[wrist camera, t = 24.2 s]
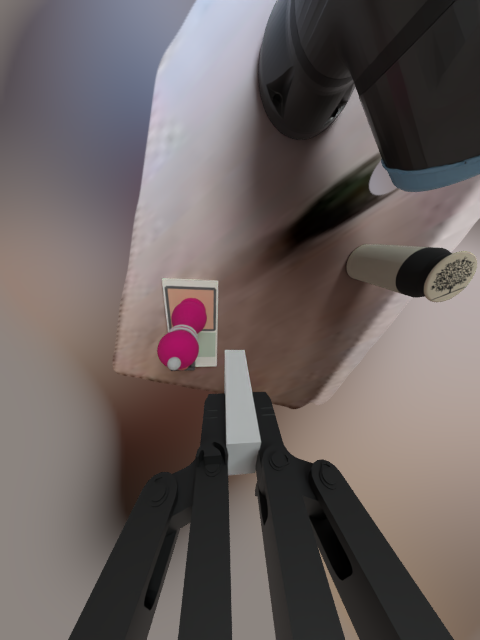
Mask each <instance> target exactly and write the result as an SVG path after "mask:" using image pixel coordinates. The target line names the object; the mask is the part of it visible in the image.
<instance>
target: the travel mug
mask: <svg viewBox="0 0 480 640" xmlns="http://www.w3.org/2000/svg"><path fill="white" fill-rule="evenodd" d="M476 268H477V260H476V257H475V256H474V255H473V254H472V253H470V252H467V251H461V252H456V253H453V254H452V253H451V252H449V251H448V250H446V249H444V248H431V247H413V246H395V245H377V244H365V245H362V246H360V247H358V248H357V249H355V250H354V251H353V252H352V254H351V255H350V257H349V259H348V261H347V273H348V275H349V276H350V277H352V278H354V279H357V280H360V281H363V282H366V283H370V284H373V285H376V286H379V287H382V288H385V289H389V290H392V291H395V292H398V293H401V294H404V295H408V296H411V297H424V296H425V297H426V298H427V299H428V300H430V301H432V302H442V301H446V300H449V299H451V298H453V297H454V296H456V295H457V294H459V293H460V292H461V291H462V290H463V289H464V288H465V287H466V286H467V285H468V284H469V282H470V281H471V279H472V278H473V276H474V274H475V272H476Z"/></svg>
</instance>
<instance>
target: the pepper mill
mask: <svg viewBox="0 0 480 640" xmlns="http://www.w3.org/2000/svg"><path fill="white" fill-rule="evenodd" d="M206 321H207V315H206V309H205V306H204V304H203V303H202V302H201V301H200V300H198V299H196V298H187V299H184V300H183V301H182V302H181V303H180V304H178V305H177V306H176V307H175V308H174V310H173V312H172V316H171V322H172V325H173V328H171V329H170V330H169V332H168V334H166V335H165V336H164V337H163V338H162V339H161V340H160V342H159V345H158V350H157V352H158V357H159V359H160V361H161V362H162V363H163V364H164V365H165V366H167V367H168V368H169V369H170V370H177V369H183V368H186V367H188V366H190V365H191V364H192V363H193V362H194V361H195V360H196V358H197V356H198V353H199V345H198V342H197V341H198V335H197V334H198V333H199V332H201V331H202V329H203V328H204V327H205V325H206Z"/></svg>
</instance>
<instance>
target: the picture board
mask: <svg viewBox="0 0 480 640" xmlns="http://www.w3.org/2000/svg"><path fill="white" fill-rule="evenodd" d="M162 285H163V294H164V302H165V310H166V319H167V327H168V332H169V330H170V329H171V328H173V325H172V322H171V316H172V312H173V310H174V308H175V307H176V306H177V305H178V304H180V303H181V302H182V301H183V300H184V299H187V298H196V299H198V300H200V301H201V302H202V303H203V304H204V306H205V309H206V315H207V321H206V325H205V327H204V328H203V329H202V331H201V332H199V333H198V334H197V335H198V341H197V342H198V345H199V353H198V356H197V358H196V360H195V361H194V362H193V363H192V364H191V365H190V366H188V368H187V369H185V370H195V367H207V366H217V321H218V281H216V280H194V279H172V278H163V279H162ZM171 371H183V370H178V369H177V370H171Z"/></svg>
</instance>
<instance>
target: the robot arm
mask: <svg viewBox="0 0 480 640" xmlns="http://www.w3.org/2000/svg"><path fill="white" fill-rule="evenodd" d="M258 76H259V88H260V94H261V99H262V102H263V105H264V108H265V111H266V113H267V115H268V117H269V119H270V120H271V122H272V123H273V125H274V126H275V127H276V128H277V129H278V130H279V131H280V132H281V133H283V134H284V135H286V136H288V137H290V138H293V139H308V138H311V137H314V136H316V135H318V134H319V133H321V132H322V131H323V130H325V129H326V128H327V127H328V126H329V125H330V124H331V123H332V122H333V121H334V120H335V119H336V118H337V116H338V115H339V114H340V113H341V111H342V110H343V108H344V107H345V105H346V104H347V102H348V100H349V98H350V96H351V94H352V92H353V90H354V88H355V87H356V89H357V92H358V95H359V99H360V101H361V104H362V107H363V109H364V112H365V115H366V117H367V120H368V123H369V125H370V128H371V130H372V133H373V136H374V138H375V141H376V144H377V146H378V149H379V152H380V154H381V157H382V159H381V163H382V166H383V167H384V168H385V169H386V170H387V171H388V173H389V176H390V178H391V180H392V182H393V184H394V185H395V186H396V187H397V188H400V189H401V190H404V191H407V192H421V191H428V190H433V189H437V188H441V187H445V186H449V185H452V184H455V183H458V182H461V181H464V180H466V179H469V178H471V177H474V176H476V175H479V174H480V0H277V1H276V3H275V5H274V7H273V10H272V12H271V14H270V17H269V20H268V22H267V26H266V29H265V33H264V37H263V42H262V46H261V51H260V57H259V69H258ZM255 470H256V473H257V484H256V489H255V496H258V503H259V511H260V519H261V526H262V532H263V541H264V550H265V557H266V565H267V573H268V581H269V588H270V596H271V603H272V612H273V620H274V627H275V634H276V640H345V637H344V634H343V631H342V627H341V624H340V621H339V617H338V614H337V610H336V607H335V604H334V600H333V597H332V594H331V590H330V587H329V583H328V580H327V577H326V573H325V570H324V567H323V563H322V560H321V557H320V553H321V555H322V557H323V559H324V562H325V564H326V566H327V568H328V570H329V573H330V575H331V577H332V579H333V582H334V584H335V586H336V588H337V590H338V593H339V595H340V597H341V599H342V602H343V604H344V606H345V608H346V610H347V613H348V615H349V617H350V619H351V621H352V624H353V626H354V628H355V630H356V633H357V635H358V637H359V639H360V640H454V639H453V637H452V636H451V635H450V633H449V632H448V630H447V629H446V627H445V626H444V624H443V623H442V622H441V620H440V618H439V617H438V615H437V614H436V612H435V611H434V610H433V608H432V607H431V605H430V604H429V602H428V601H427V599H426V598H425V596H424V595H423V594H422V592H421V591H420V589H419V587H418V586H417V584H416V583H415V582H414V580H413V579H412V577H411V576H410V574H409V573H408V571H407V570H406V568H405V567H404V565H403V564H402V562H401V561H400V560H399V558H398V557H397V555H396V554H395V552H394V551H393V549H392V548H391V546H390V545H389V543H388V542H387V541H386V539H385V537H384V536H383V534H382V533H381V532H380V530H379V529H378V527H377V526H376V524H375V523H374V521H373V520H372V518H371V517H370V515H369V514H368V512H367V511H366V509H365V508H364V507H363V505H362V503H361V502H360V501H359V499H358V498H357V496H356V495H355V493H354V492H353V490H352V489H351V487H350V486H349V484H348V483H347V481H346V480H345V478H344V477H343V476H342V474H341V473H340V471H339V470H338V469H337V468H336V467H335V466H334V465H333V464H331V463H330V462H329V461H326V460H317V461H316V462H314V463H310V462H307V461H304V460H301V459H298V458H296V457H294V456H293V455H291V454H290V453H289V452H288V451H287V449H286V448H285V446H284V444H283V441H282V438H281V434H280V431H279V427H278V424H277V420H276V416H275V413H274V410H273V406H272V402H271V399H270V397H269V396H268V395H267V393H266V392H252V389H251V383H250V378H249V372H248V367H247V361H246V356H245V350H225V368H224V394H209V395H208V397H207V399H206V401H205V405H204V416H203V424H202V434H201V444H200V447H199V449H198V451H197V454H196V459H195V460H194V461H193V462H192V463H191V464H190V465H189V466H187V467H186V468H184V469H182V470H180V471H178V472H175V473H173V474H171V473H169V472H161V473H159V474H156V475H154V476H153V477H152V478H151V479H150V480H149V481H148V482H147V484H146V485H145V486H144V488H143V490H142V492H141V494H140V496H139V498H138V500H137V502H136V504H135V506H134V508H133V510H132V512H131V514H130V516H129V518H128V520H127V522H126V524H125V526H124V528H123V530H122V532H121V534H120V536H119V538H118V540H117V542H116V544H115V547H114V548H113V550H112V552H111V554H110V556H109V558H108V560H107V563H106V564H105V566H104V569H103V570H102V572H101V575H100V577H99V579H98V581H97V583H96V585H95V587H94V589H93V591H92V593H91V595H90V597H89V599H88V601H87V603H86V605H85V607H84V609H83V611H82V613H81V615H80V617H79V619H78V621H77V623H76V625H75V627H74V629H73V631H72V633H71V635H70V637H69V639H68V640H147V636H148V633H149V630H150V626H151V623H152V619H153V616H154V613H155V610H156V607H157V603H158V600H159V597H160V593H161V590H162V587H163V583H164V580H165V576H166V573H167V570H168V567H169V563H170V560H171V557H172V554H173V550H174V547H175V544H176V540H177V537H178V534H179V530H180V528H182V527H183V526H185V525H187V524H188V523H190V522H191V524H190V533H189V543H188V551H187V561H186V570H185V579H184V588H183V598H182V607H181V616H180V626H179V635H178V640H232V617H231V576H230V537H229V535H230V533H229V491H228V475H235V474H247V473H255ZM317 546H318V547H317ZM318 548H319V550H320V553H319V550H318Z"/></svg>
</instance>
